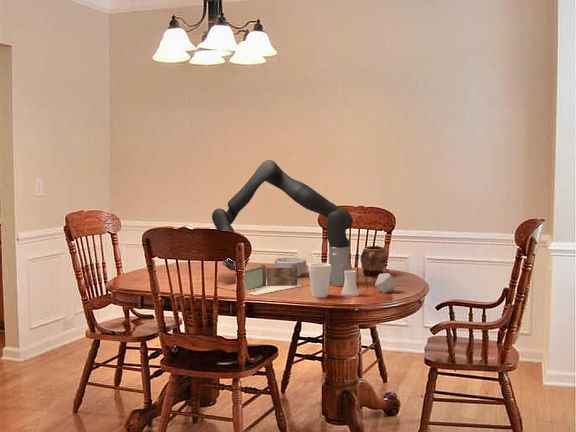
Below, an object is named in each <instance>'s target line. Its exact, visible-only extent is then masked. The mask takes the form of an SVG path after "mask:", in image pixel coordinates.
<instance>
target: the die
mask: <svg viewBox="0 0 576 432" xmlns="http://www.w3.org/2000/svg"><path fill="white" fill-rule="evenodd" d="M397 282H398V280H397V279H395V277H393V276H392V275H391V274H390V273H388V272H386V273H385V272H383V274H379V276H378V277H377V279H376V281H375V284H374V287H376V288H377V289H379V291H380V292H382V293H383V294H388V293H393V291H394V290H395V287H396V284H397Z"/></svg>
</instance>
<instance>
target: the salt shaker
mask: <svg viewBox="0 0 576 432" xmlns="http://www.w3.org/2000/svg"><path fill="white" fill-rule="evenodd" d="M356 272H357V270H346V271H344V274H345V282H344V286H342V287H343V288H342V290H341V291H340V296H342V297H349V298H350V297H358V296H360V292H359V290H358V287H357V283H356Z"/></svg>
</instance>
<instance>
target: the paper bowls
mask: <svg viewBox="0 0 576 432" xmlns="http://www.w3.org/2000/svg"><path fill="white" fill-rule="evenodd" d="M293 264H296V265H297V278H298V277H301V276H302V274H303V272H305V271H306V270H307V259H304V258H300V257H279V258H274V267H292V265H293Z"/></svg>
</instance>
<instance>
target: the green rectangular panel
mask: <svg viewBox="0 0 576 432" xmlns="http://www.w3.org/2000/svg"><path fill="white" fill-rule="evenodd" d="M244 270H245V275H243V278H244V280H243V282H244V283H245V291H247V290H250V289H254V288H257V287H260V286H263V266H261V265H259V266H255V267H251V268H248V269H244Z"/></svg>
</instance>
